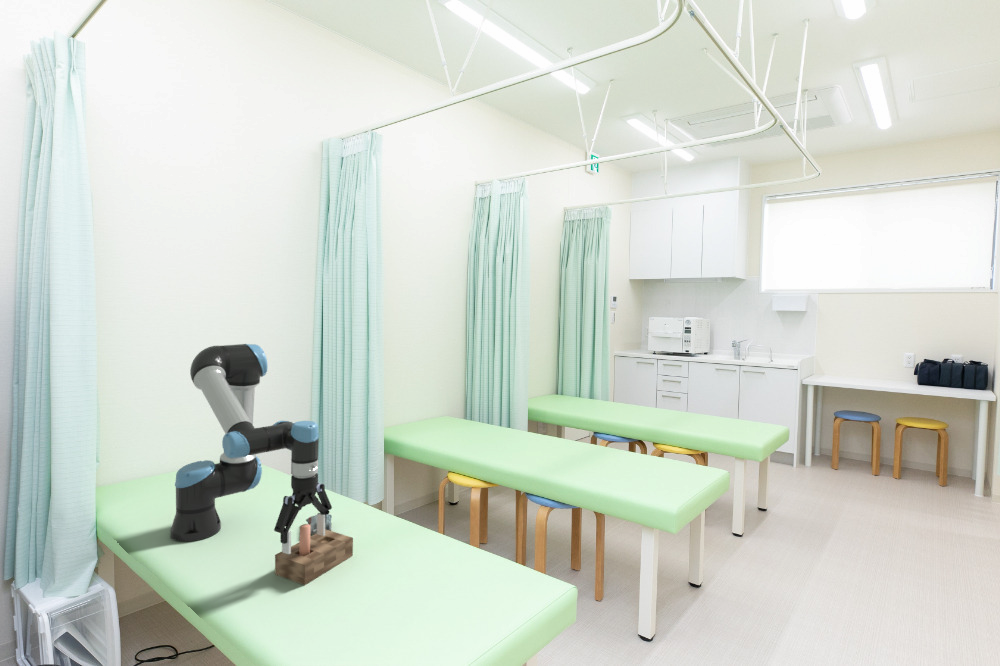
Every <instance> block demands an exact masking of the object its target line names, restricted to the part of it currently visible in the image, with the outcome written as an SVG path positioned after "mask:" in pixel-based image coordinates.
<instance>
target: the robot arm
mask: <svg viewBox="0 0 1000 666" xmlns="http://www.w3.org/2000/svg"><path fill="white" fill-rule="evenodd" d="M268 365H269V364H268V359H267V356H266V353H265V351H264V350H263V348H262V347H261V346H260V345H258V344H255V343H254V344H253V343H251V344H250V343H241V344H240V343H239V344H238V343H237V344H226V345H212V346H209V347H205V348H204V349H202V350H201V351H199V352H198V353H197V354H196V356H195V357H194V358H193V361H192V362H191V365H190V370H189V371H190V378H191V379H190V380H191V381H192V384H193V385H194V386H195V388H196V389H198V390H201V392H202V394H203V396H204V397H205V399H206V401H207V403H208V405H209V406H210V409H211V410H212V412H213V414H214V416H215V417H216V419H217V421H218V423H219V424H220V427H221V428H222V430H223V432H224V435H223V437H222V441H221V442H222V449H223V453H221V454H220V455H219V462H217V463H215V462H214V461H212V460H203V461H202V460H198V461H194V462H190V463H188V464H186V465H184V466H182V467H181V468H180V469H177V472H176V474H175V482H174V487H175V515H174V518H173V519H172V520H173V521H172V524H171V527H170V529H169V531H170V533H169V535H170V536H169V537H170V539H172V540H173V541H175V542H183V543H184V542H195V541H200V540H201V541H202V540H204V539H208V538H210V537H213V536H214V535H216V534H217V533H219V532H220V531H221V528H222V526H221V525H222V523H221V518H220V517H219V514H218V511H217V509H216V499H218V498H223V497H225V496H230V495H234V494H238V493H244V492H247V491H250V490H252V489H254V488H256V487H257V486H258V485H259V484H260V481H261V479H262V474H263V473H262V472H263V467H262V462H261V459H260V458H259V457H258V456H257V455H258V454H259V455H260V454H263V453H264V454H265V453H269V452H274V451H279V450H284V449H287V450H289V451H291V452H290V455H291V458H290V461H291V462H290V463H291V464H290V467H291V468H290V469H291V470H290V471H291V472H290V474H291V477H290V480H291V481H290V484H291V485H290V488H291V489H292V494H291V495H290V496H287V495H284V496H283V500H282V505H281V509H280V512H279V515H278V518H277V520H276V523H275V526H274V529H273V530H274V532H276V533H279V534H280V540H279V541H280V543H281V552H283V553H286V554H290V553H291V546H292V532H291V531H290V529H291V526H292V525H293V523H294V521H295V519H296V517H297V515H298V514H299V512H300V511H301V510H302V509H303V507H306V506H307V505H312V506H313V507H314V508H315V509H316V510H317V511H318V513H317V514H316V515H317V534H318V535H322V536H324V535H325V523H326V514H329V515H330V511H331V510H332V508H333V507H332V503H331V502H330V499H329V497H328V494H327V492H326V488H325V484H324V483H320V482H319V474H318V472H319V444H320V443H319V442H320V441H319V438H320V434H319V433H320V432H319V425H318V423H317V422H315V421H311V420H301V421H295V422H292V421H290V420H289V421H288V420H279V421H276V422H275V423H273V424H272V425H268V426H261V427H255V426H254V410H255V409H254V407H255V393H256V392H255V389H256V387H257V386H258V385H259V384H260V382H261V378H262V377H264V376H266V374H267V372H268V369H269V368H268ZM316 494H317V496H316Z"/></svg>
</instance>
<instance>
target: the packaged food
mask: <svg viewBox="0 0 1000 666" xmlns="http://www.w3.org/2000/svg"><path fill="white" fill-rule="evenodd" d="M332 516H333V515H332V514H330V513H329V514H326V523H325V529H326V530H329V531H332ZM305 521H306V522H307V524H309V525H310V526H311V527H310V535H314V534H316V533H317V514H315V515H312V516H310V517H308V518H306V519H305Z"/></svg>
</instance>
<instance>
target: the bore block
mask: <svg viewBox="0 0 1000 666" xmlns="http://www.w3.org/2000/svg"><path fill="white" fill-rule="evenodd" d="M299 544H300V541H299V542H297V543H296V544H293V545H291V553H290V554H286V553H283V552H282V551H280V552H278V553H276V554H275V555H274V574H275V575H276V576H279V577H281V578H283V579H287V580H289V581H292V582H295V583H298V584H301V585H303V586H306V585H308V584H309V583H311V582H313V581H314V580H316V579H317V578H319V577H321V576H322V575H324V574H326V573H327V572H329V571H330V570H332V569H333V568H335V567H337V566H338V565H340V564H342V563H344V562H345V561H346V560H348V559H350V558H352V557H353V553H354V538H353V537H352V536H349V535H345V534H342V533H338V532H337V531H333V530H331V531H329V530H326V529H325V535H324V536H322V535H318V534H317V533H316V534H311V535H310V554H308V555H306V556H301V555H299Z"/></svg>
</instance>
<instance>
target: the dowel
mask: <svg viewBox="0 0 1000 666" xmlns="http://www.w3.org/2000/svg"><path fill="white" fill-rule="evenodd" d="M310 527H311V526H310V525H309V524H308V523H304V524H301V525H300V526H299V542H300V544H299V555H301V556H306V555H308V554H310V537H311V534H310Z"/></svg>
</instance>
